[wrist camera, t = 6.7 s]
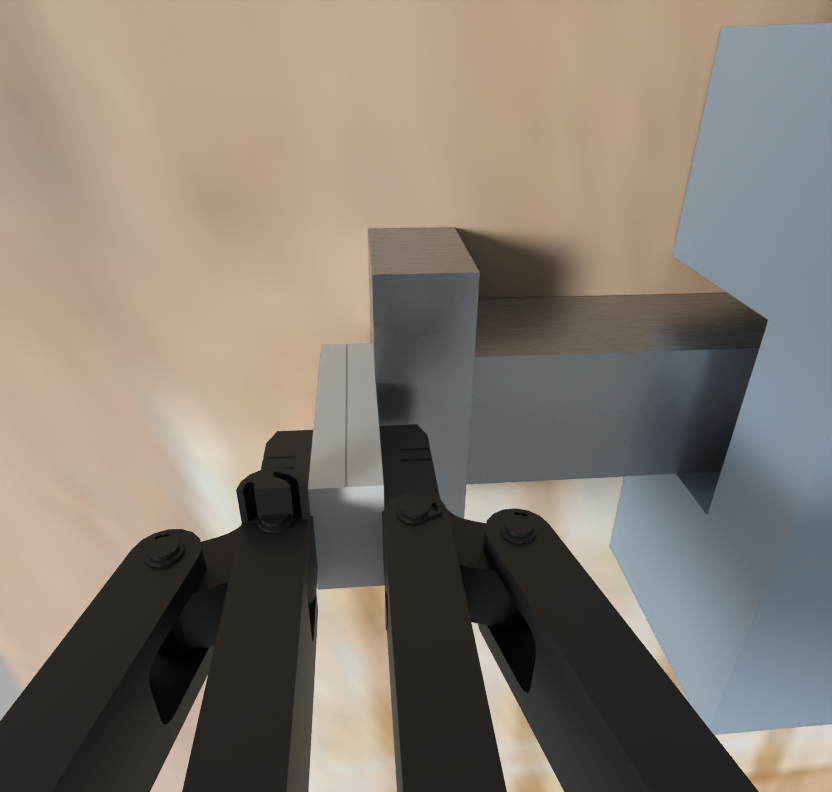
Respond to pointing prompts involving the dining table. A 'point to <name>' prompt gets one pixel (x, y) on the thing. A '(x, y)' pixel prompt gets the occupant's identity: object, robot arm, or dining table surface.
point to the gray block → (550, 371)
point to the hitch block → (754, 404)
